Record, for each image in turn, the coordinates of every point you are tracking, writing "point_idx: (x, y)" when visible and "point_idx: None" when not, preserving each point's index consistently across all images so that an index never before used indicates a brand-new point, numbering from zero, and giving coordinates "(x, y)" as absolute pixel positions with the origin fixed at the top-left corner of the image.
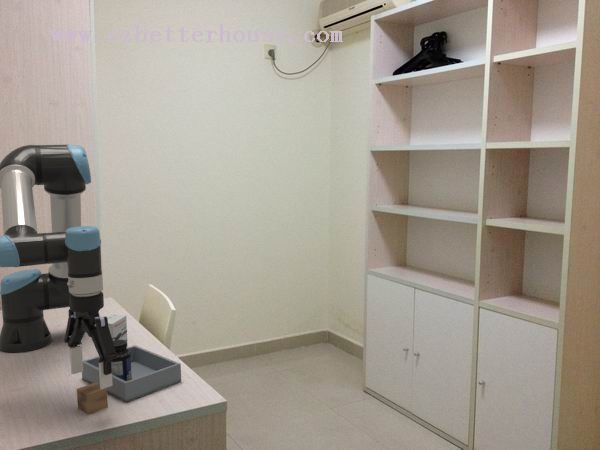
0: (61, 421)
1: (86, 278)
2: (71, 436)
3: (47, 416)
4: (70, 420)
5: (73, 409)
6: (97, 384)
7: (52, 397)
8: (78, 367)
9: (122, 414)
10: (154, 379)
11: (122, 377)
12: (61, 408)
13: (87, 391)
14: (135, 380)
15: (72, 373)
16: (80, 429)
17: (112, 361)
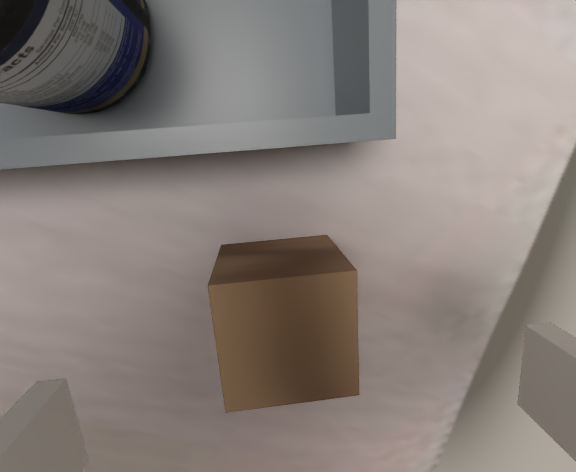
0: (307, 424)
1: None
2: (448, 430)
3: (221, 451)
4: None
5: None
6: (251, 292)
7: (21, 388)
8: (46, 455)
9: (447, 216)
10: None
11: (134, 31)
12: (182, 392)
13: (315, 378)
14: (392, 36)
15: (77, 466)
16: (426, 392)
17: (1, 60)
